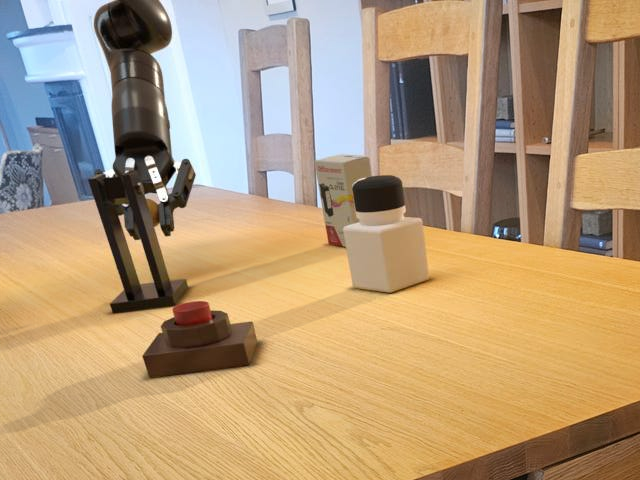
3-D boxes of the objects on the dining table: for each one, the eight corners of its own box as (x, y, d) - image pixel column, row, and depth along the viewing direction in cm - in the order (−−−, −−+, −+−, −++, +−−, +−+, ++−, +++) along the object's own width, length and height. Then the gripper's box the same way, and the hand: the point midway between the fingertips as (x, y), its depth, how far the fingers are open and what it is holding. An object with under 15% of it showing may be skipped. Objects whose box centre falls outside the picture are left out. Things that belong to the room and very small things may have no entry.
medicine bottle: (430, 279, 105) (418, 172, 98) (389, 293, 101) (373, 183, 94) (392, 274, 109) (377, 171, 102) (351, 288, 105) (333, 181, 98)
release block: (149, 377, 82) (135, 337, 80) (164, 353, 89) (152, 315, 87) (249, 365, 83) (238, 324, 80) (257, 342, 89) (248, 303, 87)
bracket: (130, 294, 114) (91, 173, 106) (188, 287, 115) (153, 165, 106) (112, 313, 106) (68, 183, 98) (175, 305, 107) (136, 175, 98)
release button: (174, 330, 82) (168, 312, 81) (180, 321, 85) (175, 303, 84) (210, 326, 82) (205, 308, 81) (215, 316, 85) (211, 299, 84)
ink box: (327, 244, 131) (311, 159, 124) (353, 238, 133) (339, 154, 126) (356, 249, 125) (341, 160, 118) (383, 243, 128) (370, 155, 121)
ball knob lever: (142, 231, 117) (136, 203, 116) (168, 228, 117) (162, 200, 116) (102, 205, 102) (95, 173, 101) (132, 202, 102) (125, 169, 101)
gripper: (78, 110, 113) (86, 222, 110) (182, 98, 113) (192, 209, 110) (102, 152, 120) (110, 258, 117) (200, 140, 121) (210, 245, 118)
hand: (150, 233), depth 114 cm, fingers closed on ball knob lever, 3 cm apart
